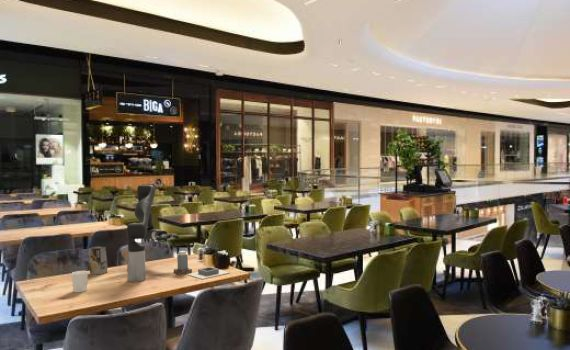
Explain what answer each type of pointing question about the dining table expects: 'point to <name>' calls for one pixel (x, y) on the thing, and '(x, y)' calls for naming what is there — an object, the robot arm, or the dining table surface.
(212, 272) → the port
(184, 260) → the grey bottle
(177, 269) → the holster
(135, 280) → the robot arm
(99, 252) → the coffee box
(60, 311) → the dining table surface
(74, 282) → the white cup
